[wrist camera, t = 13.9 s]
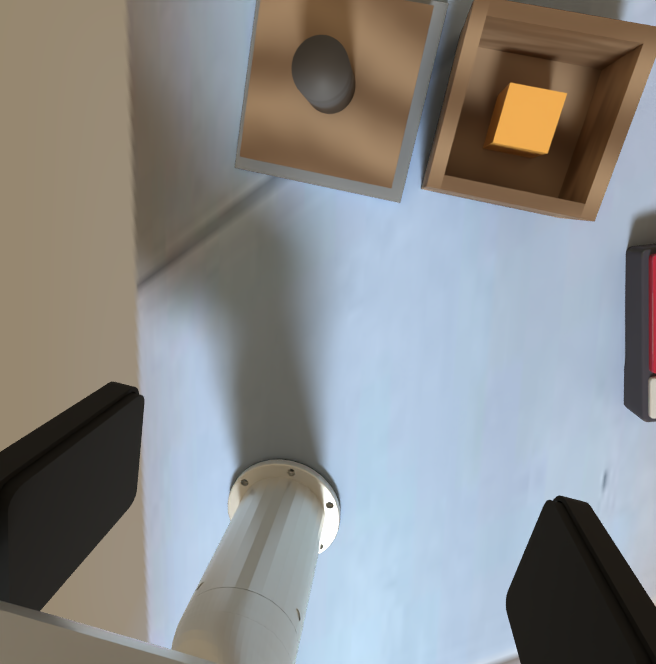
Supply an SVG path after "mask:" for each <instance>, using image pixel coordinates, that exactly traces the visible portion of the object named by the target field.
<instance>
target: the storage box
mask: <svg viewBox="0 0 656 664" xmlns="http://www.w3.org/2000/svg"><path fill="white" fill-rule="evenodd" d="M655 58H656V26H650V25H644V24H639V23H633V22H627V21H621V20H616V19H610V18H604V17H599V16H593V15H587V14H581V13H576V12H570V11H564V10H559V9H553V8H547V7H541V6H536V5H530V4H524V3H519V2H513V1H507V0H474V1H473V3H472V6H471V8H470V11H469V13H468V16H467V18H466V21H465V23H464V26H463V28H462V31H461V33H460V37H459V41H458V45H457V49H456V53H455V57H454V61H453V65H452V69H451V73H450V77H449V81H448V85H447V89H446V93H445V97H444V101H443V105H442V109H441V112H440V116H439V120H438V124H437V128H436V132H435V136H434V140H433V144H432V148H431V152H430V156H429V160H428V164H427V168H426V172H425V176H424V180H423V184H422V188H421V189H424V190H429V191H433V192H438V193H443V194H448V195H453V196H457V197H462V198H467V199H472V200H476V201H481V202H486V203H491V204H496V205H500V206H505V207H510V208H515V209H519V210H524V211H529V212H534V213H539V214H543V215H548V216H553V217H558V218H565V219H576V220H586V221H595V219H596V216H597V213H598V211H599V208H600V205H601V202H602V200H603V197H604V194H605V192H606V189H607V186H608V184H609V181H610V178H611V176H612V173H613V170H614V168H615V165H616V162H617V160H618V157H619V154H620V152H621V149H622V146H623V143H624V141H625V138H626V135H627V133H628V130H629V127H630V125H631V122H632V119H633V117H634V114H635V111H636V109H637V106H638V103H639V101H640V98H641V95H642V93H643V90H644V87H645V85H646V82H647V79H648V76H649V74H650V71H651V68H652V66H653V63H654V60H655ZM509 83H515V84H521V85H526V86H531V87H537V88H542V89H547V90H553V91H558V92H563V93H567V96H566V99H565V102H564V105H563V108H562V111H561V114H560V117H559V120H558V123H557V126H556V129H555V133H554V136H553V139H552V142H551V145H550V148H549V151H548V153H547V154H544V155H541V156H537V157H534V158H528V157H523V156H518V155H513V154H508V153H503V152H498V151H493V150H488V149H483V146H484V142H485V139H486V135H487V132H488V128H489V125H490V121H491V118H492V114H493V111H494V107H495V104H496V100H497V97H498V95H499V94H500V93H501V92H502V91H503V89H504V88H505V87H506V86H507V85H508V84H509Z"/></svg>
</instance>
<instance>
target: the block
mask: <svg viewBox="0 0 656 664" xmlns="http://www.w3.org/2000/svg"><path fill="white" fill-rule="evenodd" d="M566 96H567V93H563V92H558V91H553V90H547V89H542V88H537V87H531V86H526V85H521V84H515V83H509V84H508V85H507V86H506V87H505V88H504V89H503V91H502V92H501V93H500V94H499V95H498V97H497V100H496V104H495V107H494V111H493V114H492V118H491V121H490V125H489V128H488V132H487V135H486V139H485V142H484V146H483V149H488V150H493V151H498V152H503V153H508V154H513V155H518V156H523V157H528V158H534V157H537V156H541V155H544V154H547V153H548V151H549V148H550V145H551V142H552V139H553V136H554V133H555V129H556V126H557V123H558V120H559V117H560V114H561V111H562V108H563V105H564V102H565V99H566Z"/></svg>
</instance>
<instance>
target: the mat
mask: <svg viewBox="0 0 656 664" xmlns="http://www.w3.org/2000/svg"><path fill="white" fill-rule="evenodd" d="M406 1H411V2H417V3H423V4H428V5H434V8H433V13H432V17H431V22H430V26H429V30H428V34H427V39H426V43H425V47H424V51H423V56H422V60H421V64H420V69H419V73H418V77H417V81H416V86H415V90H414V94H413V99H412V103H411V107H410V111H409V116H408V120H407V124H406V129H405V133H404V137H403V141H402V146H401V150H400V154H399V158H398V163H397V167H396V171H395V176H394V180H393V184H392V188H386V187H381V186H376V185H372V184H367V183H362V182H357V181H353V180H348V179H343V178H338V177H334V176H329V175H324V174H319V173H315V172H310V171H305V170H300V169H296V168H291V167H286V166H281V165H277V164H272V163H267V162H262V161H258V160H253V159H248V158H243V157H240V149H241V142H242V134H243V127H244V119H245V112H246V104H247V97H248V89H249V82H250V74H251V66H252V59H253V51H254V44H255V36H256V29H257V21H258V14H259V6H260V0H257V1H256V9H255V16H254V24H253V32H252V39H251V47H250V54H249V62H248V70H247V77H246V85H245V93H244V100H243V108H242V116H241V123H240V131H239V139H238V146H237V154H236V161H235V168H239V169H243V170H248V171H253V172H257V173H262V174H267V175H271V176H276V177H281V178H286V179H290V180H295V181H300V182H304V183H309V184H314V185H319V186H323V187H328V188H333V189H337V190H342V191H347V192H351V193H356V194H361V195H366V196H370V197H375V198H380V199H384V200H389V201H394V202H398V203H400V202H401V198H402V193H403V189H404V185H405V181H406V177H407V173H408V169H409V164H410V160H411V156H412V152H413V148H414V144H415V140H416V136H417V131H418V127H419V123H420V119H421V115H422V111H423V107H424V102H425V98H426V94H427V90H428V86H429V82H430V78H431V73H432V69H433V65H434V61H435V57H436V53H437V49H438V44H439V40H440V36H441V32H442V28H443V24H444V20H445V16H446V11H447V7H448V3H445V2H439V1H434V0H406Z"/></svg>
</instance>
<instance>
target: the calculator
mask: <svg viewBox="0 0 656 664" xmlns="http://www.w3.org/2000/svg"><path fill="white" fill-rule="evenodd" d="M625 324H626V364H625V366H624V405H625V407H627V408H628V409H629V410H630V411H632V412H633V413H634V414H636V415H637V416H638V417H639V418H641V419H642V420H643V421H645V422H655V421H656V244H649V245H641V246H634V247H630V248H628V249H627V251H626V283H625Z"/></svg>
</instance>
